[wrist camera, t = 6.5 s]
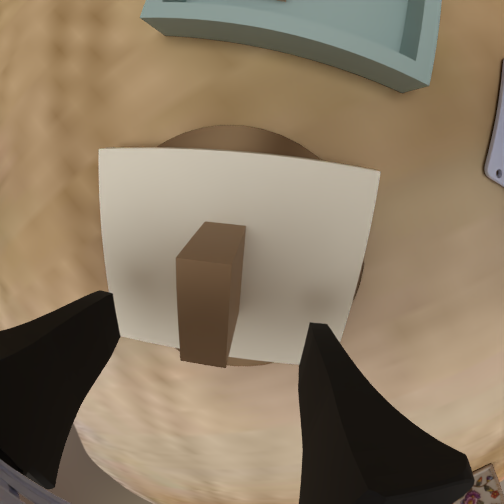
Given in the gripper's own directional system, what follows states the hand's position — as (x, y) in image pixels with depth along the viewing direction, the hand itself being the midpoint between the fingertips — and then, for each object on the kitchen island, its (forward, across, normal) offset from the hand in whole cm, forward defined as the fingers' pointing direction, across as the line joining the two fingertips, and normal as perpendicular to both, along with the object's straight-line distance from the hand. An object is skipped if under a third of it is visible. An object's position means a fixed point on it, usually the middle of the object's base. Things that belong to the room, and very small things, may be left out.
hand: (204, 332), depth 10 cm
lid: (+6, 0, 0) cm, 6 cm away
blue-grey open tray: (+6, -2, -16) cm, 17 cm away
